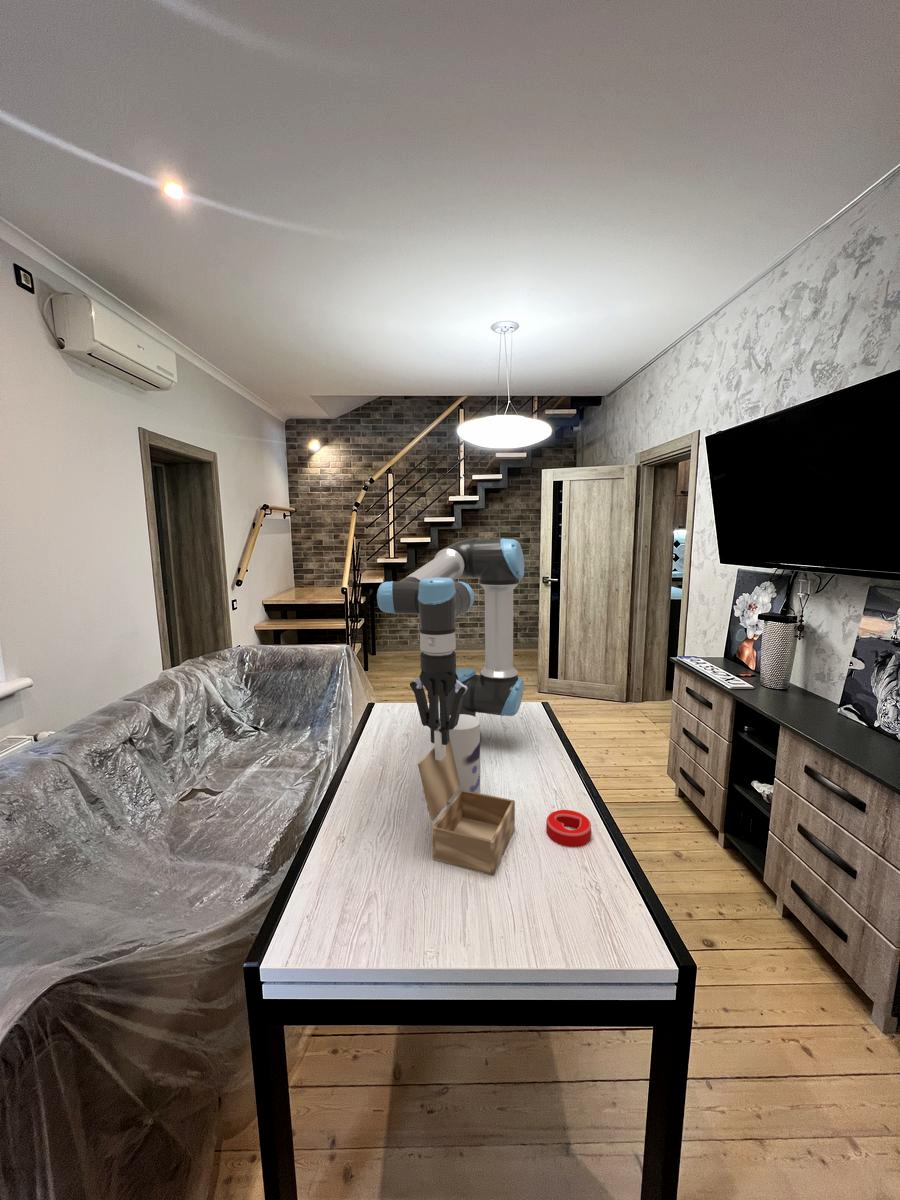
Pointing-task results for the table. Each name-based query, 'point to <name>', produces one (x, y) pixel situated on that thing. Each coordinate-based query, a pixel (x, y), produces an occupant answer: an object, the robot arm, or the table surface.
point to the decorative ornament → (563, 835)
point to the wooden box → (474, 831)
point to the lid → (438, 780)
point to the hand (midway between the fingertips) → (440, 757)
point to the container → (466, 753)
